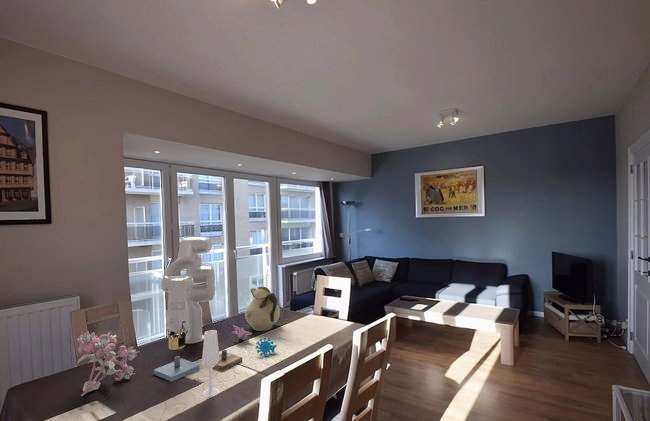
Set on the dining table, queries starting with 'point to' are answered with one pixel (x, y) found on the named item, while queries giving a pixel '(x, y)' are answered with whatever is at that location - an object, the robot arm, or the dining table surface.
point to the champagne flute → (210, 359)
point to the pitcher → (262, 309)
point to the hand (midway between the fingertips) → (177, 344)
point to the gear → (265, 347)
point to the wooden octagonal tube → (174, 342)
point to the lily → (241, 333)
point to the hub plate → (176, 369)
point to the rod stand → (227, 361)
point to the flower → (107, 348)
